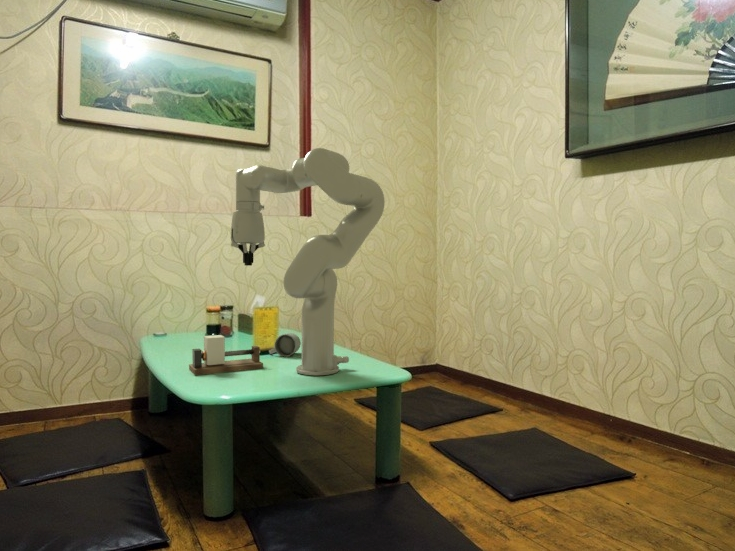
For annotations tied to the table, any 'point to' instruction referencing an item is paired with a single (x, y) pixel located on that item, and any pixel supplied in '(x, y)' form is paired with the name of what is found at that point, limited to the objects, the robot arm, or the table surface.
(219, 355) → the sleeve
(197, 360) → the rod
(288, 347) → the ceramic mug
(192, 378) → the table surface
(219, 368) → the board
